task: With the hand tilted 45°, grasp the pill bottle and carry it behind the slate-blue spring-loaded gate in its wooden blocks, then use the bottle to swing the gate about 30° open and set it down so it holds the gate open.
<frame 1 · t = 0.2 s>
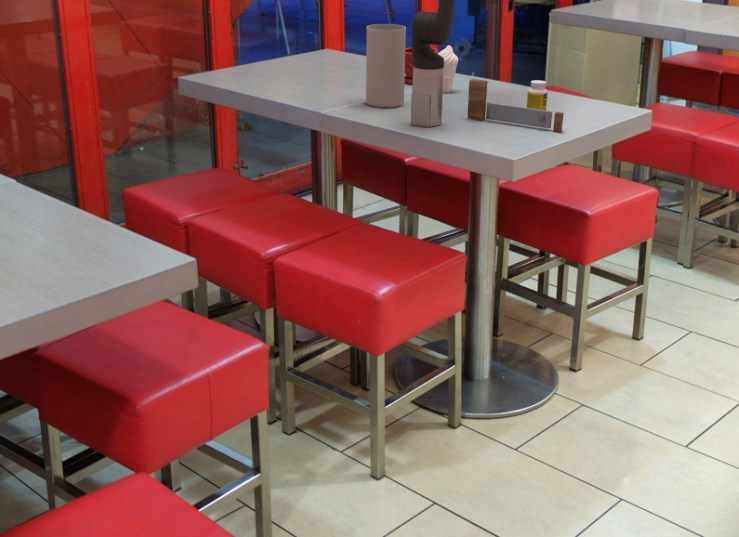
hand: (497, 11, 327), 29 cm above the table, tool pointing down, fingers open, 8 cm apart
wooden blocks: (487, 120, 308), on the table
soft serve ice cream cone: (444, 92, 347), on the table
cylinder vase: (384, 104, 328), on the table
pill bottle: (535, 117, 314), on the table
plant pot: (418, 83, 361), on the table
gate: (517, 115, 302), point 3 cm above the table, hinge at 0.0°
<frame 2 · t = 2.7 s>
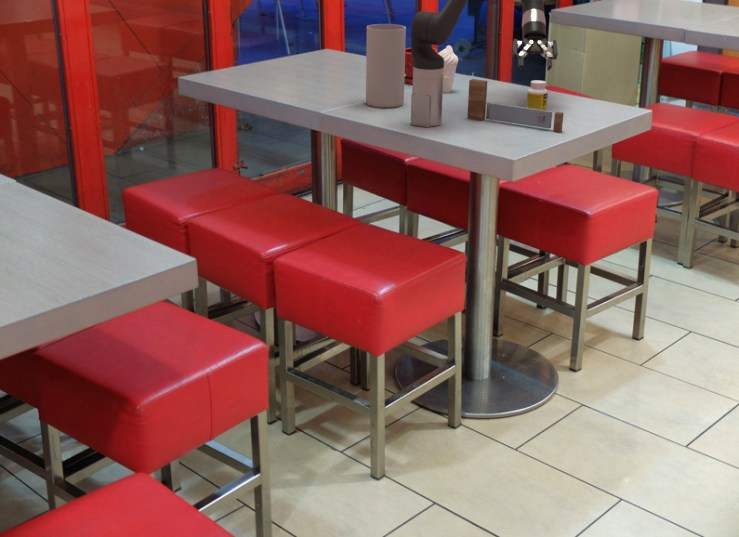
hand: (535, 68, 317), 13 cm above the table, tool tilted 45°, fingers open, 8 cm apart
nothing on the table moved.
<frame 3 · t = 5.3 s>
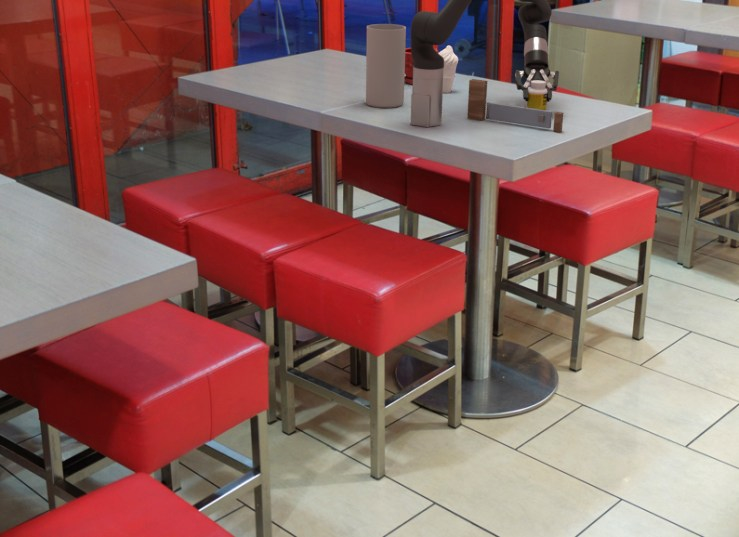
hand: (537, 100, 311), 6 cm above the table, tool tilted 45°, fingers closed on pill bottle, 6 cm apart
pill bottle: (535, 117, 314), on the table, touching gripper
everything else where it was.
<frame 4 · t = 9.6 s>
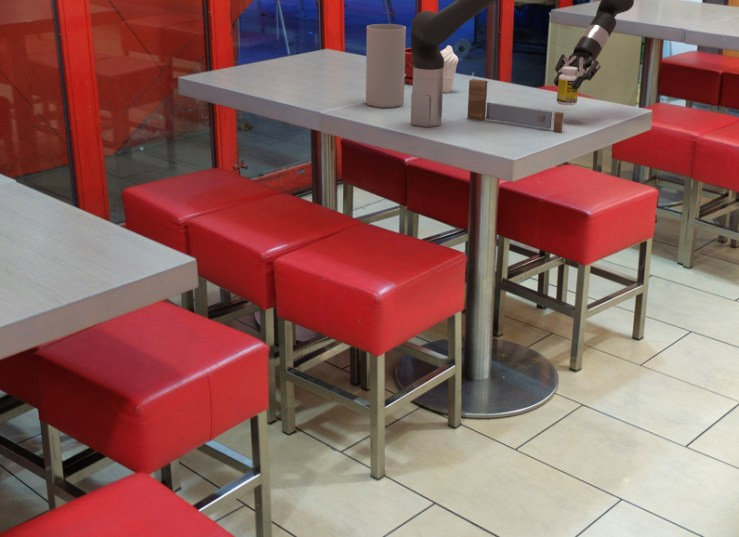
hand: (564, 86, 303), 11 cm above the table, tool tilted 45°, fingers closed on pill bottle, 6 cm apart
pill bottle: (566, 104, 307), point 5 cm above the table, touching gripper
everything else where it was.
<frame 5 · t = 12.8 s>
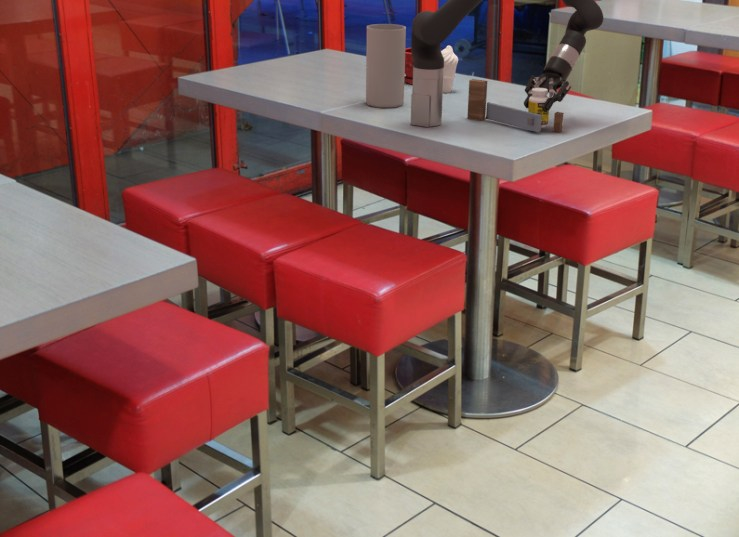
hand: (535, 108, 295), 7 cm above the table, tool tilted 45°, fingers closed on pill bottle, 6 cm apart
pill bottle: (537, 126, 298), point 1 cm above the table, touching gate, gripper
gate: (511, 117, 300), point 3 cm above the table, hinge at 17.5°, touching pill bottle
everything else where it was.
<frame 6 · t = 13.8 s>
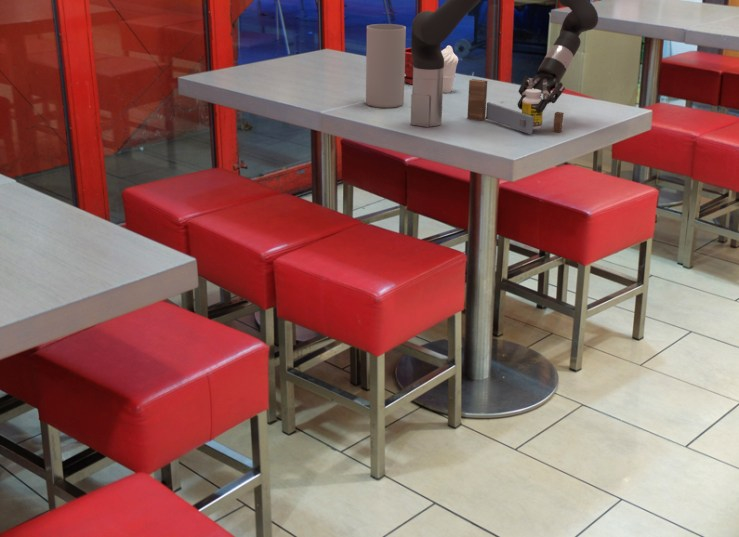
hand: (528, 109, 293), 7 cm above the table, tool tilted 45°, fingers closed on pill bottle, 6 cm apart
pill bottle: (531, 127, 297), point 1 cm above the table, touching gate, gripper
gate: (507, 117, 299), point 3 cm above the table, hinge at 27.1°, touching pill bottle
everything else where it was.
when the fingers open (7 cm above the table, at t = 14.2 s): pill bottle drops 1 cm, on the table.
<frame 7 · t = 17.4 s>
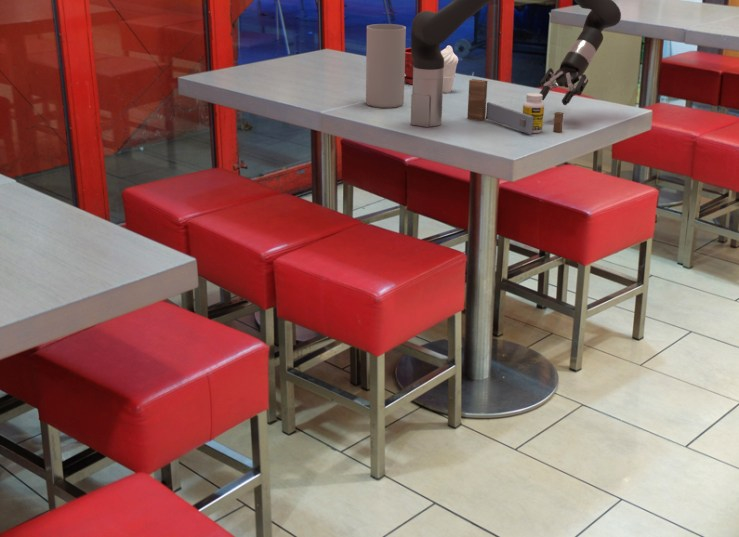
hand: (552, 101, 301), 8 cm above the table, tool tilted 45°, fingers open, 8 cm apart
pill bottle: (531, 131, 297), on the table
gate: (507, 117, 299), point 3 cm above the table, hinge at 27.2°
everything else where it was.
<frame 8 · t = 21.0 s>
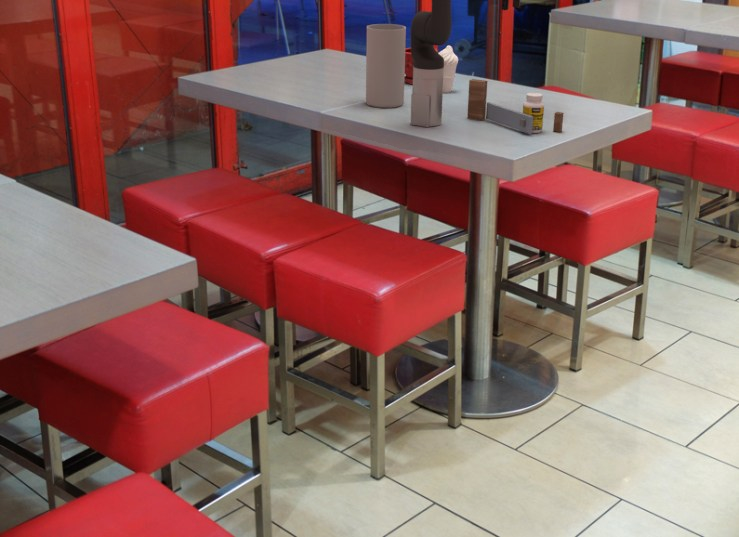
hand: (510, 8, 310), 32 cm above the table, tool pointing down, fingers open, 8 cm apart
nothing on the table moved.
at the end: gate at +27° (first picture: +0°); pill bottle tilted 0°; pill bottle inside the target area (1.0 cm from its centre), on the table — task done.
